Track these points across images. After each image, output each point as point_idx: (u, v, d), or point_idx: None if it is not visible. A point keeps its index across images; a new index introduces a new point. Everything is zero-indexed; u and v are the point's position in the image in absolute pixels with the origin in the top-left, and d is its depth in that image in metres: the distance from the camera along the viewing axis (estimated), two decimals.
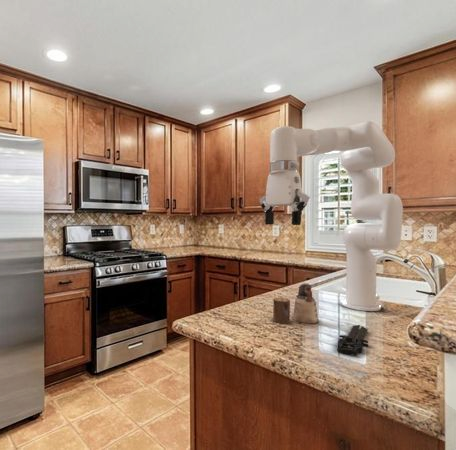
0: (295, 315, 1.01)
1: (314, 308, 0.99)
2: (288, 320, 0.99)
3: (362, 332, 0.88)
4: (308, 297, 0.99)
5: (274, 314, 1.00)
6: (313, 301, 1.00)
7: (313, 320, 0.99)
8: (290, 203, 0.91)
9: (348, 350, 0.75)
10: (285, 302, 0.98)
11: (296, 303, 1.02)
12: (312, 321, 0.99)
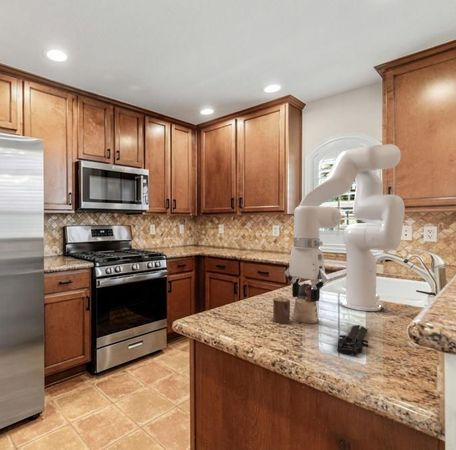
0: (295, 315, 1.01)
1: (314, 308, 0.99)
2: (288, 320, 0.99)
3: (362, 332, 0.88)
4: (308, 297, 0.99)
5: (274, 314, 1.00)
6: None
7: (313, 320, 0.99)
8: (314, 279, 0.97)
9: (348, 350, 0.75)
10: (285, 302, 0.98)
11: (296, 303, 1.01)
12: (312, 321, 0.99)
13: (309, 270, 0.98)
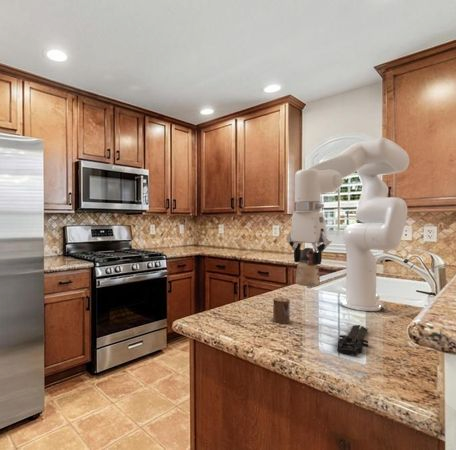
0: (297, 279, 1.01)
1: (316, 271, 0.99)
2: (288, 320, 0.99)
3: (362, 332, 0.88)
4: (310, 261, 0.99)
5: (274, 314, 1.00)
6: (315, 265, 1.00)
7: (315, 283, 0.99)
8: (315, 242, 0.97)
9: (348, 350, 0.75)
10: (285, 302, 0.98)
11: (298, 267, 1.01)
12: (314, 284, 0.99)
13: (310, 233, 0.98)
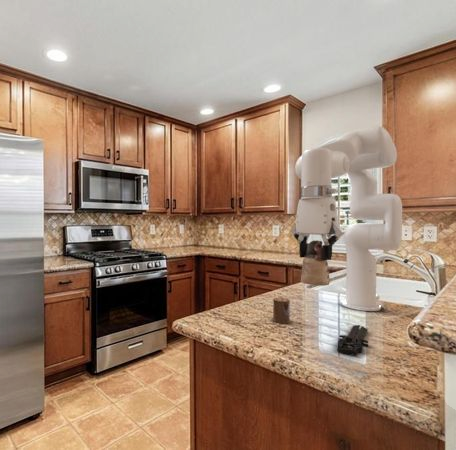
0: (303, 277, 0.87)
1: (326, 268, 0.84)
2: (288, 320, 0.99)
3: (362, 332, 0.88)
4: (319, 255, 0.84)
5: (274, 314, 1.00)
6: (324, 260, 0.85)
7: (324, 282, 0.84)
8: (325, 233, 0.83)
9: (348, 350, 0.75)
10: (285, 302, 0.98)
11: (304, 263, 0.87)
12: (323, 283, 0.84)
13: (320, 223, 0.83)
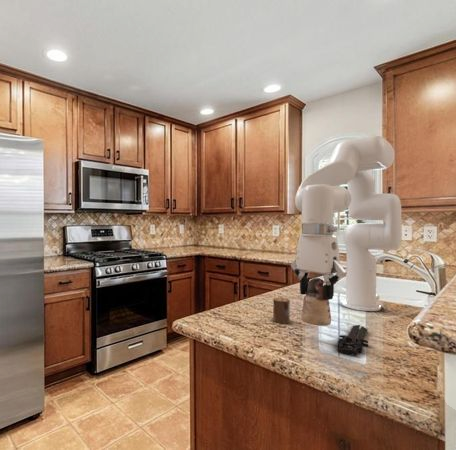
0: (304, 316, 0.85)
1: (327, 308, 0.82)
2: (288, 320, 0.99)
3: (362, 332, 0.88)
4: (320, 294, 0.82)
5: (274, 314, 1.00)
6: None
7: (326, 322, 0.82)
8: (327, 273, 0.81)
9: (348, 350, 0.75)
10: (285, 302, 0.98)
11: (305, 302, 0.85)
12: (325, 323, 0.82)
13: (321, 262, 0.81)
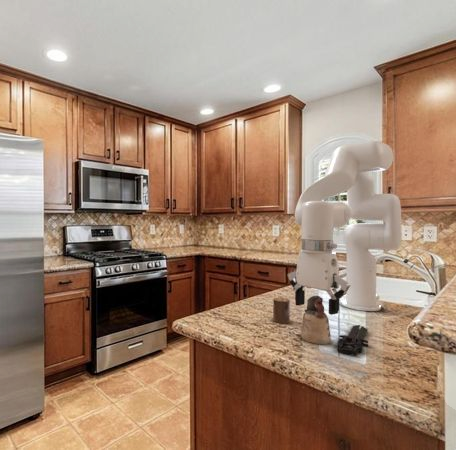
0: (303, 334, 0.85)
1: (326, 326, 0.82)
2: (288, 320, 0.99)
3: (362, 332, 0.88)
4: (319, 313, 0.82)
5: (274, 314, 1.00)
6: (325, 317, 0.83)
7: (325, 340, 0.82)
8: (327, 289, 0.81)
9: (348, 350, 0.75)
10: (285, 302, 0.98)
11: (304, 319, 0.85)
12: (324, 342, 0.82)
13: (321, 278, 0.81)
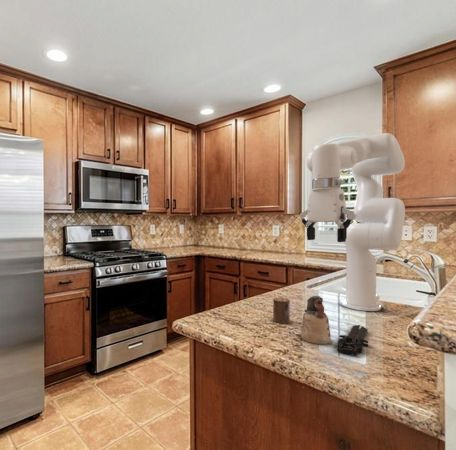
0: (303, 334, 0.85)
1: (326, 326, 0.82)
2: (288, 320, 0.99)
3: (362, 332, 0.88)
4: (319, 313, 0.82)
5: (274, 314, 1.00)
6: (325, 317, 0.83)
7: (325, 340, 0.82)
8: (335, 220, 0.92)
9: (348, 350, 0.75)
10: (285, 302, 0.98)
11: (304, 319, 0.85)
12: (324, 342, 0.82)
13: (330, 211, 0.93)
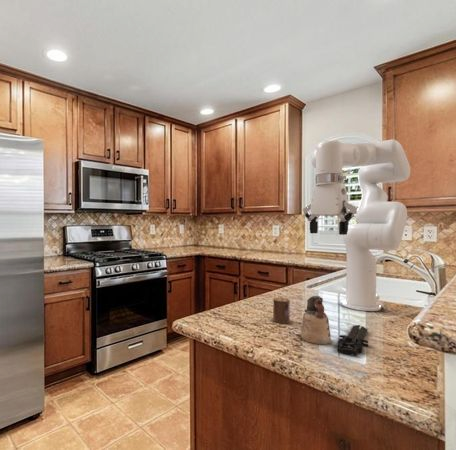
0: (303, 334, 0.85)
1: (326, 326, 0.82)
2: (288, 320, 0.99)
3: (362, 332, 0.88)
4: (319, 313, 0.82)
5: (274, 314, 1.00)
6: (325, 317, 0.83)
7: (325, 340, 0.82)
8: (337, 214, 0.96)
9: (348, 350, 0.75)
10: (285, 302, 0.98)
11: (304, 319, 0.85)
12: (324, 342, 0.82)
13: (332, 205, 0.97)
